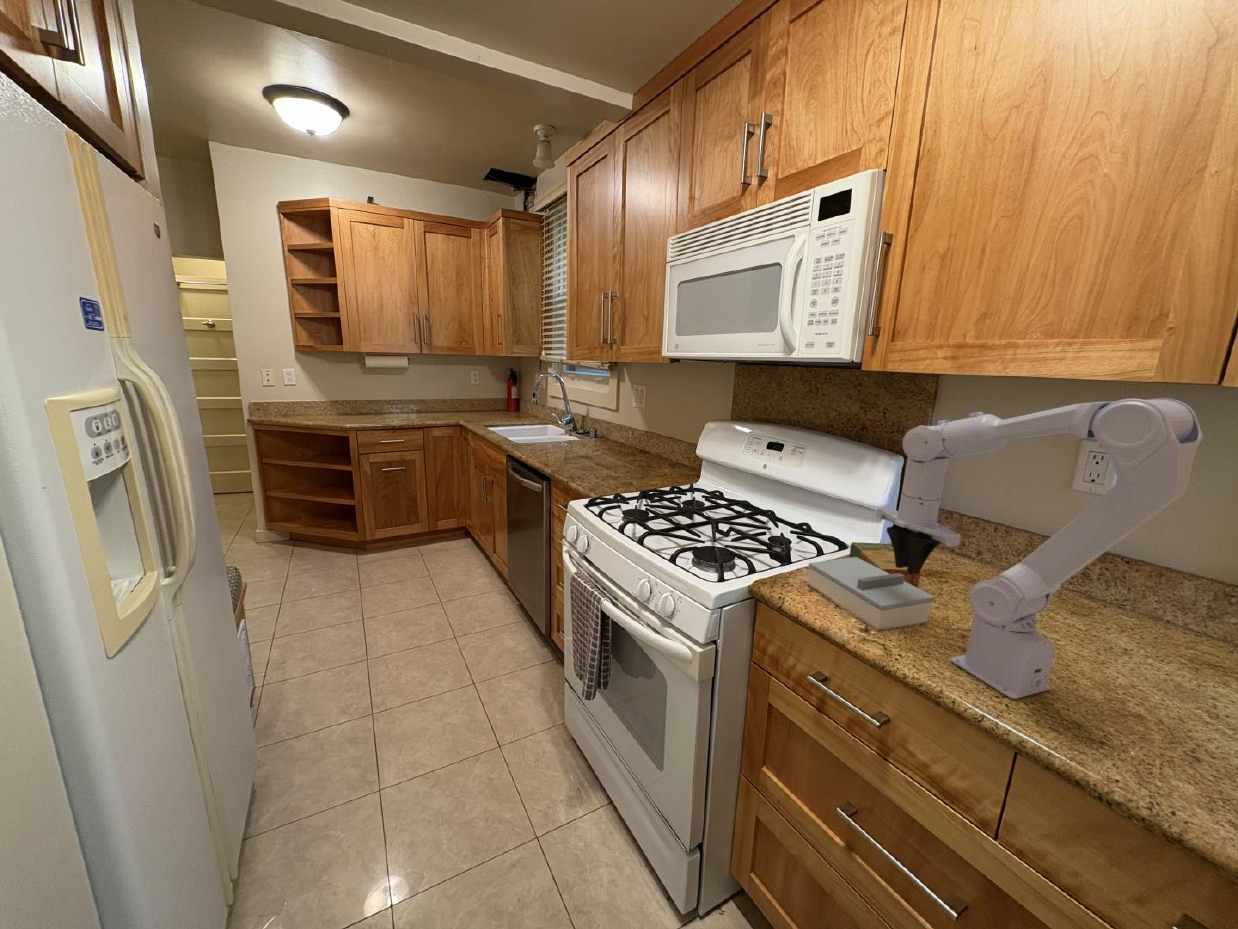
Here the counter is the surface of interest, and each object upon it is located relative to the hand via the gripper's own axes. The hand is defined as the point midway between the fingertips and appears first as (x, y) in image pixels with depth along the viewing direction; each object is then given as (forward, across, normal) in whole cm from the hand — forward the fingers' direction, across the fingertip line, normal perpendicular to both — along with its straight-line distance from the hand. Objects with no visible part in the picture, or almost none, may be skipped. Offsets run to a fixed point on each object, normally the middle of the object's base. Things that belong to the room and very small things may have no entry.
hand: (907, 569), depth 85 cm
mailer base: (+10, -8, 0) cm, 13 cm away
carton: (+11, -19, +16) cm, 27 cm away
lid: (+6, -8, 0) cm, 10 cm away
